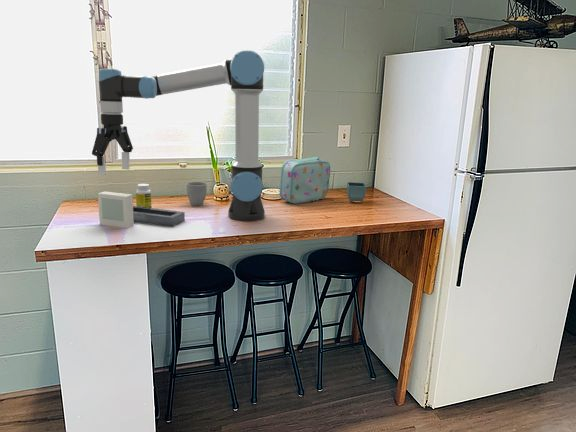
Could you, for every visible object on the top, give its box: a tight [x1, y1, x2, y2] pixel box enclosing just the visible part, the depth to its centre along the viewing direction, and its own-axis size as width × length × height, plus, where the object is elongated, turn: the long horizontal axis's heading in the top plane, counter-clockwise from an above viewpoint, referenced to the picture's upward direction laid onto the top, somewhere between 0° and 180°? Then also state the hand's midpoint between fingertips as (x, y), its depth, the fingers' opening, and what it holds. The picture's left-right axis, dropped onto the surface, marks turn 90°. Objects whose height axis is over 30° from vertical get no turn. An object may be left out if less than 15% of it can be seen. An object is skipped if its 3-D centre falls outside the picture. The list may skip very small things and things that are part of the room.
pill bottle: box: [135, 183, 153, 208], centre depth 198 cm, size 6×6×11 cm
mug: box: [186, 181, 208, 207], centre depth 213 cm, size 12×9×10 cm
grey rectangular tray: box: [133, 205, 186, 227], centre depth 185 cm, size 24×10×4 cm, turn 74°
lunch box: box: [279, 156, 331, 205], centre depth 227 cm, size 27×10×21 cm, turn 133°
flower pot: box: [346, 181, 368, 202], centre depth 230 cm, size 9×9×9 cm
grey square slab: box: [97, 190, 135, 229], centre depth 176 cm, size 12×4×12 cm, turn 74°
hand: (114, 171), depth 175 cm, fingers open, 13 cm apart
